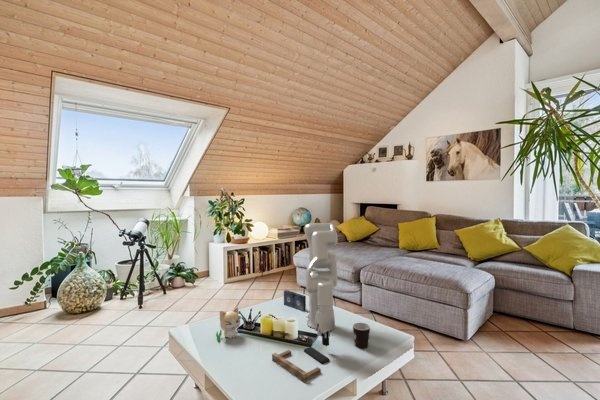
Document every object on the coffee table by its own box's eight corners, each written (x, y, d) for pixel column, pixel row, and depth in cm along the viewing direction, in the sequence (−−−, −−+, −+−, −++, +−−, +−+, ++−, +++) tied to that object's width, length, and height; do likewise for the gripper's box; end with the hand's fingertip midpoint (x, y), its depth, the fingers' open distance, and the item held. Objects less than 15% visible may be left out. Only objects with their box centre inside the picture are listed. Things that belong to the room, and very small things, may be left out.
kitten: (219, 344, 160) (219, 315, 159) (212, 336, 168) (212, 309, 168) (246, 336, 169) (245, 309, 168) (238, 329, 177) (237, 303, 176)
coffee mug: (370, 350, 152) (370, 330, 152) (352, 349, 154) (352, 329, 154) (369, 339, 164) (369, 320, 163) (353, 338, 165) (353, 319, 165)
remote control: (303, 352, 153) (322, 365, 140) (302, 349, 153) (322, 361, 140) (310, 349, 155) (330, 362, 143) (310, 346, 155) (330, 358, 143)
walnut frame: (272, 360, 144) (272, 354, 144) (288, 352, 151) (288, 346, 151) (303, 382, 128) (303, 374, 128) (320, 372, 135) (320, 365, 134)
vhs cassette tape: (306, 310, 204) (305, 295, 203) (302, 311, 202) (302, 296, 201) (286, 303, 216) (286, 289, 216) (283, 304, 214) (283, 290, 214)
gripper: (329, 302, 159) (330, 337, 159) (308, 309, 149) (309, 347, 149) (341, 305, 154) (341, 342, 153) (319, 313, 144) (320, 352, 143)
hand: (325, 344), depth 151 cm, fingers closed
